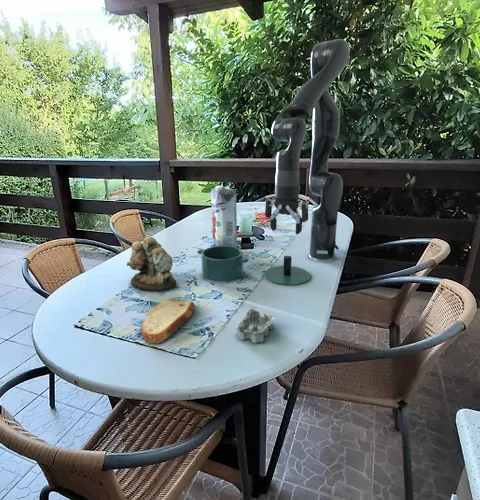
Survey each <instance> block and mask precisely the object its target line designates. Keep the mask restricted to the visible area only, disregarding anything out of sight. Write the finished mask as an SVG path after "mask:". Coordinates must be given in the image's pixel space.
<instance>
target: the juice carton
mask: <svg viewBox="0 0 480 500" xmlns="http://www.w3.org/2000/svg"><path fill="white" fill-rule="evenodd" d="M210 190H211V191H210V194H211V195H210V197H211V198H210V200H211V203H210V204H211V226H212V241H213V245H214V246H232V247H237V243H238V227H237V225H238V222H237V220H238V219H237V216H238V215H237V190H236V189H232V188H230V186H222V185H217V186H215V187H213V188H211V189H210Z"/></svg>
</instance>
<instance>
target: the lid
mask: <svg viewBox="0 0 480 500" xmlns="http://www.w3.org/2000/svg"><path fill="white" fill-rule="evenodd" d="M292 259H293V258H292V256H291V255H284V256H283V265H277V266H273V267H270V268H267V269H266V270H265V271H264V278H265V279H266V280H267V281H268V282H270V283H272V284H275V285H279V286H287V287H289V286H291V287H292V286H299V285H303V284H306V283H308V282H309V281H310V279H311V273H310V272H309V271H307V270H306V269H304V268H301V267H299V266H298V267H297V266H294V265H293V266H292Z"/></svg>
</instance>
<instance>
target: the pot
mask: <svg viewBox="0 0 480 500" xmlns="http://www.w3.org/2000/svg"><path fill="white" fill-rule="evenodd" d="M197 254H200V257H201V275H202V278H203V279H204V280H208V281H212V282H220V283H221V282H222V283H224V282H232V281H236V280H238V279H240V278H241V277H242V276H243V274H244V264H246V263H248V262H249V258H248V257H244V251H243V250H242V249H241V248H239V247H237V246H236V247H232V246H215V245H214V246H210V247H207V248H205V249H203V248H200V249H198V250H197Z"/></svg>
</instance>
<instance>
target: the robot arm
mask: <svg viewBox="0 0 480 500" xmlns="http://www.w3.org/2000/svg"><path fill="white" fill-rule="evenodd" d="M350 51H351V50H350V45H349V43H348V41H346V40H345V39H343V38H338V39H332V40H327V41H322V42H318V43H315V44H314V45H313V47H312V50H311V53H310V74H311V75H310V76H311V78H310V79H309V80H307V81H306V82H305V83H304V84H303V85H302V86H301V87H300V88H299V90H298V91H297V92H296V93H295V96H294V98H293V99H292V101H291V102H290V104H289V105H288V106H287V107H285V109H283V111H282V112H280V113H279V114H278V115H277V117H276V118H275V119H274V121H273V123H272V125H271V130H270V131H271V136H272V138H273V139H274V140H275V141H277V142H288V146H287V148H285V149H280V150H279V151H278V152H277V153H276V167H275V168H276V169H275V176H274V177H275V178H274V199H272V198H269V199H267V200H265V210H264V217H265V218H268V219H269V220H270V222H269V223H270V227H269V228H270V229H271V231H274V232H275V231H276V230H277V223H278V222H277V221H278V220H277V217H278V216H279V215H286V216H291V218H292V219H294V221H295V222H296V223H295V234H296V235H299V234H301V233H302V231H303V223H306V222H307V221H308V220H309V202H308V201H306V202H300V200H299V198H300V156H301V152H302V150H303V149H302V148H303V145H304V142H305V139H306V136H307V131H308V130H307V129H308V127H307V123H306V120H308V119H309V117H310V116H311V115H312V117H311V121H312V123H311V138H312V139H311V161H310V169H309V178H308V186H309V191H310V192H311V194H312V195H313V196H316V197H320V203H319V204H317V205H315V206H313V207H312V209H311V225H310V242H309V255H308V257H309V258H310V259H312V260H315V261H320V262H321V261H322V262H328V261H332V260H335V250H339V248H340V247H339V246H338V245H337V241H336V238H337V225H338V213H339V210H340V208H341V204H342V197H343V189H344V181H343V178H342V176H341V175H340V174H338V173H336V172H331V171H329V158H330V153H331V152H332V150H333V148H334V146H335V145H336V142H337V141H338V138H339V136H340V131H341V130H340V129H341V112H340V110H339V109H340V108H339V106H338V105H337V103H336V101H335V100H334V97H332V94H331V93H330V90H329V87H330V86H331V85H332V84H333V83H334V81H335V80H336V79H337V77H338V76H339V75H340V74H341V73H342V72H343V70H344V69H345V68H346V66H347V64H348V62H349V59H350V53H351V52H350ZM273 206H274V207H275V209H274V211H272V210H273ZM298 209H300V210H301V213H300V212H299V210H298Z"/></svg>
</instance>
